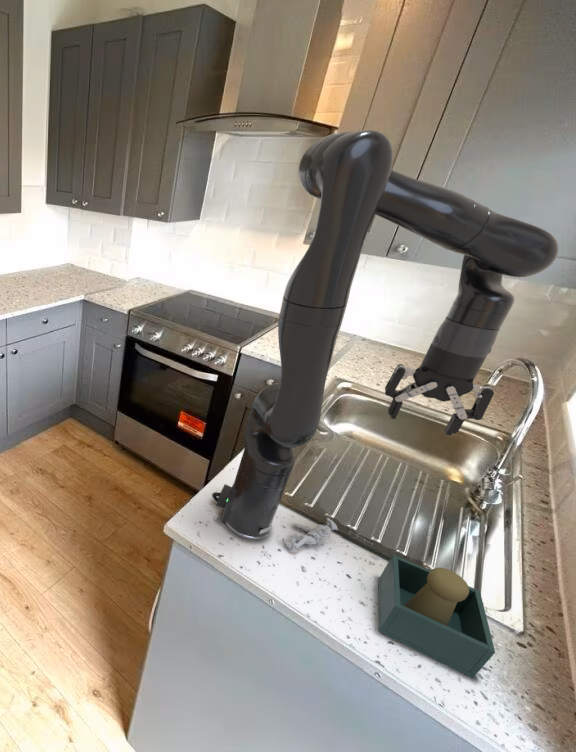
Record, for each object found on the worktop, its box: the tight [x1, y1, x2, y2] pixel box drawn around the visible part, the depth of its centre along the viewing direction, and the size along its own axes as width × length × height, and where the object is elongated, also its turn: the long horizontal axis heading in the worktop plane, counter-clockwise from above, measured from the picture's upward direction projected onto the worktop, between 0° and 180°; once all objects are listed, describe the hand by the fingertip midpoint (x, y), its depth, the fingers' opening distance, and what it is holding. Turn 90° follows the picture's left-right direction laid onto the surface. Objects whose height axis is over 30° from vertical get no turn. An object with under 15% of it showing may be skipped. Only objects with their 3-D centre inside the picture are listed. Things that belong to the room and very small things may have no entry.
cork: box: [404, 567, 470, 626], centre depth 72 cm, size 6×6×11 cm
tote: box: [377, 554, 496, 679], centre depth 73 cm, size 13×13×7 cm
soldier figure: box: [282, 517, 339, 551], centre depth 89 cm, size 8×5×12 cm
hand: (419, 424), depth 81 cm, fingers open, 8 cm apart
